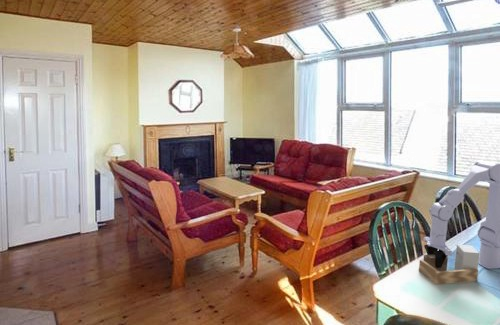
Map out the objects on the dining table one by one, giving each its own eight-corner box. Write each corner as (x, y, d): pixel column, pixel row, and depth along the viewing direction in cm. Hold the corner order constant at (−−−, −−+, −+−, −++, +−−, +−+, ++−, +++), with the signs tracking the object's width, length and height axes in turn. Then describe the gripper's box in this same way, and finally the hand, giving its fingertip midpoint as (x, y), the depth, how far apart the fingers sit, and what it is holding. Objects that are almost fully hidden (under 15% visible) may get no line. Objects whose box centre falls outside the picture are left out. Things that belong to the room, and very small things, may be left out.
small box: (476, 279, 142) (480, 253, 140) (460, 277, 143) (463, 251, 141) (468, 269, 150) (472, 245, 148) (453, 268, 151) (456, 243, 149)
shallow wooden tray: (456, 267, 151) (457, 257, 151) (476, 281, 140) (478, 270, 140) (418, 270, 148) (419, 259, 148) (436, 284, 138) (437, 272, 137)
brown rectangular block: (422, 266, 152) (423, 254, 151) (440, 265, 153) (441, 253, 152) (428, 271, 148) (429, 258, 147) (446, 269, 150) (447, 257, 149)
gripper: (418, 227, 155) (415, 257, 157) (441, 240, 140) (437, 273, 143) (433, 226, 156) (430, 256, 158) (458, 239, 142) (454, 272, 144)
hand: (434, 264), depth 151 cm, fingers closed on brown rectangular block, 4 cm apart
